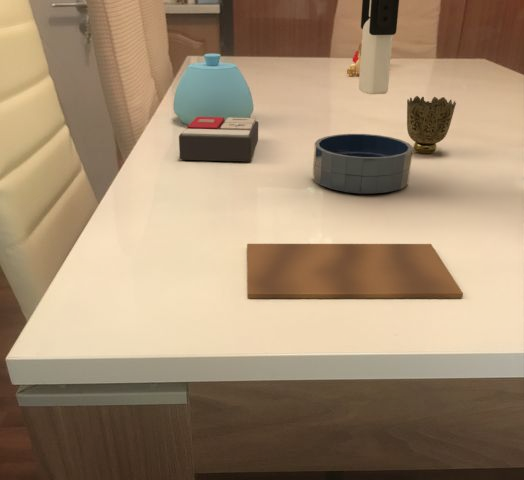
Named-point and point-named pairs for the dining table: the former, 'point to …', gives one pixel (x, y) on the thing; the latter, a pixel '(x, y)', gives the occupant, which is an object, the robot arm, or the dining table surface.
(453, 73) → the dining table surface
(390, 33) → the robot arm
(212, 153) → the dark flat box
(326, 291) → the brown wooden board
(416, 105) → the cup
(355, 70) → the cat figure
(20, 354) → the dining table surface
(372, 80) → the eye dropper bottle
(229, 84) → the sugar bowl
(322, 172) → the bowl
